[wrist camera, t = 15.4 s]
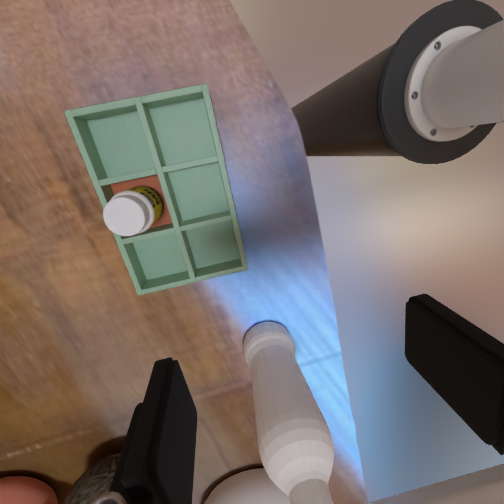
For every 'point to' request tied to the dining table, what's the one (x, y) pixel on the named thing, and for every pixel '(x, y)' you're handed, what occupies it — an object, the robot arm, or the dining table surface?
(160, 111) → the tray
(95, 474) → the vase
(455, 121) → the robot arm
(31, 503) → the teapot
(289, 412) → the bottle
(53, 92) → the dining table surface
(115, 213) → the supplement bottle
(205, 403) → the dining table surface
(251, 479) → the pot
